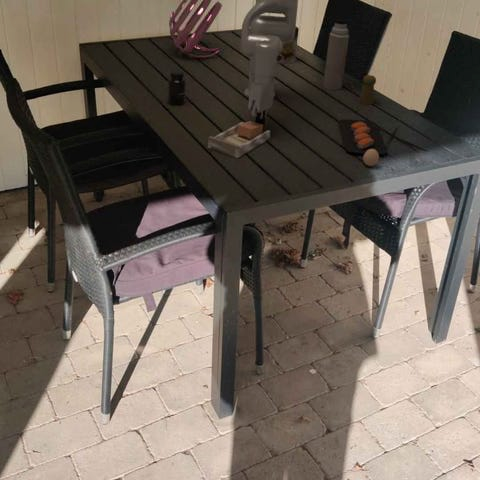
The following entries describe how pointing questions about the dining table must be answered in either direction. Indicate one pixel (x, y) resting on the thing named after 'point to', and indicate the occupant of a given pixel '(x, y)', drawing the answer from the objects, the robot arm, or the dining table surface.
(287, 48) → the coffee box
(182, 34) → the spiral basket
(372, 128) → the sushi plate
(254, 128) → the brown rectangular block
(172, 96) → the supplement bottle
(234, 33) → the dining table surface
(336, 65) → the thermos bottle
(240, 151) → the dock
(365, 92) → the pepper mill
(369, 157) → the egg
